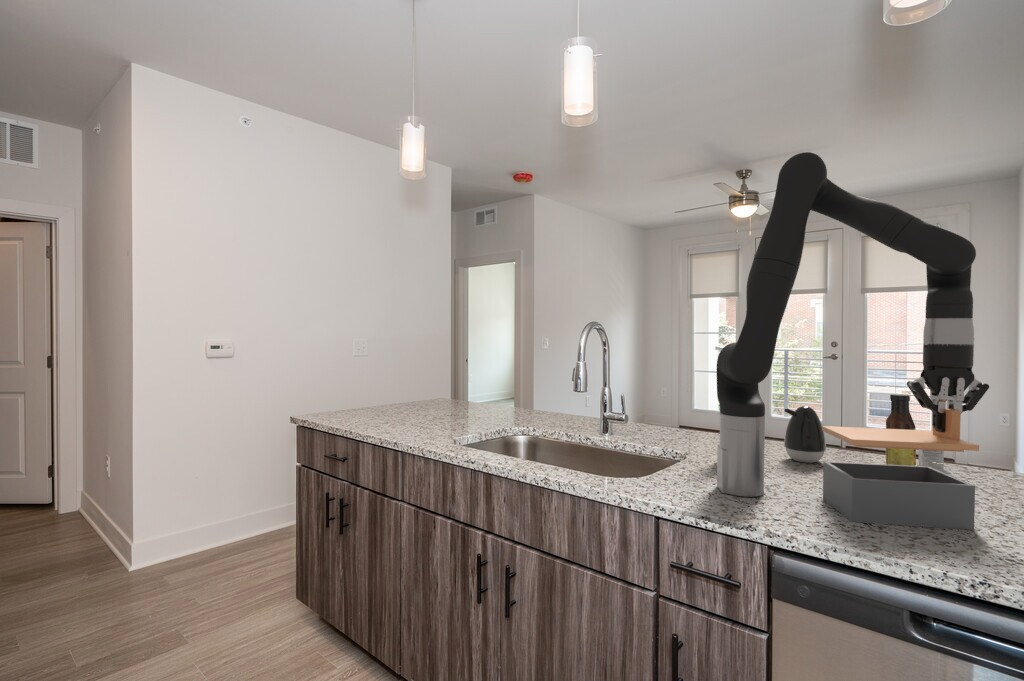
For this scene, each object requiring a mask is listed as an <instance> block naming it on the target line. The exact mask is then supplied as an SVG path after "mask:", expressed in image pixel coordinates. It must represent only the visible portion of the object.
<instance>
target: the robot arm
mask: <svg viewBox="0 0 1024 681" xmlns="http://www.w3.org/2000/svg"><path fill="white" fill-rule="evenodd" d="M811 211H813V212H815V213H818V214H821V215H823V216H826V217H828V218H830V219H833V220H834V221H835V220H836V221H838V222H839V223H842V224H844V225H846V226H848V227H851V228H853V229H854V230H856V231H858V232H860V233H862V234H864V235H865V236H867V237H869V238H871V239H873V240H875V241H876V242H879V243H880V244H882V245H884V246H886V247H887V248H889V249H892V250H893V251H896V252H899V253H901V254H902V253H904V254H907V255H909V256H911V257H912V258H914V259H916V260H918V261H919V262H922V263H923V264H924V265H926V286H927V294H926V299H925V322H924V327H923V338H922V339H923V341H922V342H923V343H922V344H923V346H922V348H923V349H922V366H923V370H922V372H920V377H918V378H916V379H913V380H908V381H907V382H906V386H907V387H908V389H909V390H910V392H911V393H912V395H913V396H914V398H915V399H916V401H917V403H918V404H919V405H920V407H921V408H923V409H928V410H930V411H931V412H932V415H931V416H932V421H931V423H932V424H931V425H932V429H933V428H935V430H936V431H938V432H945V426H946V414H945V413H944V412H945V408H949V409H954V410H958V411H961V414H962V413H964V412H967V411H969V412H970V411H972V410H973V409H975V407H976V406H977V405H978V403H979V402H980V400H981V399H982V398H983V397H984V395H985V394H986V393H987V391H988V390H989V389H990V385H989V384H988V383H984V382H981V381H979V380H978V379H976V378H975V377H976V376H975V374H974V372H973V367H974V356H975V355H974V351H975V350H974V349H975V327H974V322H973V321H974V316H973V314H974V298H973V292H972V290H971V283H972V282H971V281H972V280H971V279H972V265H973V263H974V262H975V260H976V256H977V250H976V247H975V246H974V244H973V243H972V242H971V241H970V240H969V239H967V238H965V237H964V236H961V235H960V234H957V233H954V232H952V231H950V230H947V229H944V228H943V227H939V226H936V225H934V224H930V223H929V222H928V223H927V222H925V221H924V220H922V219H921V218H919V217H917V216H915V215H914V214H911V213H909V212H907V211H905V210H903V209H901V208H899V207H897V206H896V205H895V206H894V205H892V204H889V203H887V202H884V201H880V200H875V199H872V198H868V197H863V196H860V195H857V194H854V193H853V192H849V191H847V190H845V189H843V188H841V187H840V186H839V185H837V184H836V183H834V182H833V181H831V180H830V179H828V169H827V165H826V163H825V162H824V159H823V158H822V157H821V156H820V155H818V154H816V153H815V152H813V151H802V152H798V153H796V154H793V155H792V156H791V157H789V159H787V160H786V161H785V162H784V164H783V165H782V166H781V168H780V170H779V172H778V177H777V184H776V190H775V194H774V199H773V204H772V207H771V212H770V216H769V218H768V220H767V223H766V225H765V228H764V231H763V233H762V235H761V237H760V240H759V244H758V246H757V248H756V251H755V255H754V258H753V260H752V264H751V267H750V269H749V273H748V277H747V282H746V294H745V295H746V296H745V297H746V312H745V319H744V322H743V325H742V329H741V331H740V334H739V337H738V338H737V340H736V342H731V343H728V344H726V345H725V346H724V347H723V348H722V349H721V350H720V351H719V352H718V355H717V360H716V396H717V400H718V405H719V444H717V446H716V447H717V448H716V449H717V452H716V455H717V457H716V458H717V459H716V460H717V462H716V486H717V488H718V489H719V490H720V492H721V494H727V495H728V494H729V495H733V496H738V497H745V498H746V497H749V498H751V497H752V498H753V497H754V498H755V497H760V496H763V495H764V493H765V445H766V444H765V443H766V442H765V439H766V438H765V436H766V432H765V431H766V430H765V429H766V405H765V402H764V400H763V399H762V398H761V395H760V391H759V384H760V383H761V382H763V381H764V380H765V379H766V378H767V377H768V375H769V373H770V371H771V369H772V365H773V361H774V355H775V351H776V345H777V339H778V334H779V332H780V331H779V330H780V326H781V323H782V320H783V317H784V315H785V312H786V309H787V305H788V302H789V299H790V296H791V293H792V290H793V287H794V285H795V281H796V278H797V275H798V272H799V268H800V265H801V261H802V256H803V251H804V245H805V239H806V229H807V223H808V220H809V216H810V212H811ZM926 387H927V388H928V389H929V394H928V393H927V391H926V390H925V389H926ZM967 389H968V391H967V393H966V394H965V391H966V390H967ZM946 404H947V407H946ZM960 419H962V418H961V417H960Z"/></svg>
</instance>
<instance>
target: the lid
mask: <svg viewBox="0 0 1024 681" xmlns="http://www.w3.org/2000/svg"><path fill="white" fill-rule="evenodd" d="M944 413H945V414H946V426H945V432H938V431H936V430H935V428H933V427H932V430H927V429H926V430H922V429H916V430H905V429H886V428H880V427H877V428H876V427H859V426H858V427H854V426H831V425H825V426H824V425H822V431H824V433H826V434H827V435H830V436H833V437H835V438H837V439H839V440H841V441H843V442H846V443H848V444H850V445H852V446H855V447H859V448H876V449H886V448H894V449H915V450H916V451H917V450H918V451H919V450H936V451H944V452H956V453H957V452H959V453H961V452H962V453H964V452H965V451H976V452H979V451H980V445H979V444H975V443H973V442H970V441H967V440H963V439H961V418H960V417H961V414H962V413H961V411H958V410H954V409H949V408H947V407H945V412H944Z"/></svg>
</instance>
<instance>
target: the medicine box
mask: <svg viewBox="0 0 1024 681" xmlns="http://www.w3.org/2000/svg"><path fill="white" fill-rule="evenodd" d="M944 452H945V451H936V450H918V466H928V467H932V468H934V469H936V470H939V471H941V472H943V473H945V471H944V468H945V467H944V464H945V463H944ZM932 462H936V463H932ZM937 463H943V464H937Z"/></svg>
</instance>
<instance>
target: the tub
mask: <svg viewBox="0 0 1024 681" xmlns="http://www.w3.org/2000/svg"><path fill="white" fill-rule="evenodd" d="M822 464H823V466H822V468H823V470H822V472H823V474H822V484H823V485H822V499H823V500H824V501H825V502H826V503H828V504H829V505H831V506H832V507H833V509H835V510H837V511H838V512H839V513H840V514H842V515H843V516H844V517H845V518H846V519H848V520H849V521H850V522H852V523H865V524H881V525H893V526H894V525H895V526H896V525H897V526H907V527H908V526H911V527H921V528H922V527H923V528H926V527H927V528H939V529H940V528H941V529H942V528H943V529H953V530H968V531H969V530H971V531H975V514H976V513H975V509H976V507H975V505H976V504H975V502H976V485H974V484H971V483H970V482H967V481H964V480H963V479H960V478H957V477H954V476H953V475H951V474H948V473H946V472H941V471H939V470H936V469H934V468H932V467H928V466H920V465H916V466H908V465H887V464H886V463H885V464H882V463H866V462H865V463H864V462H863V463H861V462H842V461H823V463H822Z"/></svg>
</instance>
